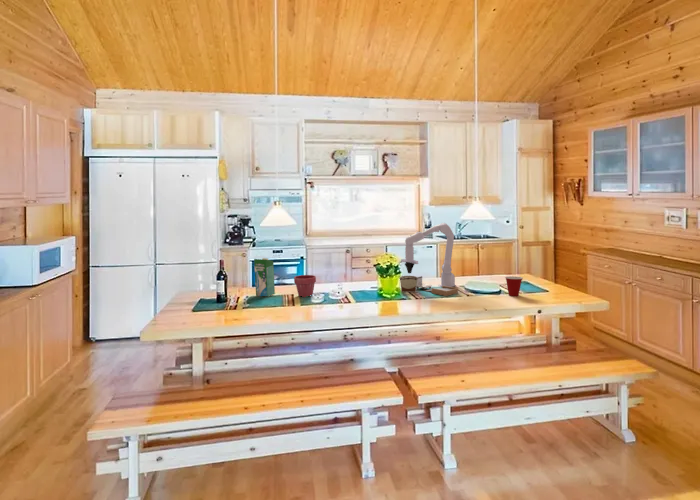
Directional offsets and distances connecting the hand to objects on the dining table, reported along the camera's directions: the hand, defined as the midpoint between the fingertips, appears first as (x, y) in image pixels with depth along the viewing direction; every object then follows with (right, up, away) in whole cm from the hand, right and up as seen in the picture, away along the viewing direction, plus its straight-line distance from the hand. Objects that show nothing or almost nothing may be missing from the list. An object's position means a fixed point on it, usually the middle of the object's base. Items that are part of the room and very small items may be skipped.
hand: (409, 273), depth 338 cm
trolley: (+9, -10, -9) cm, 16 cm away
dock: (+17, -12, -19) cm, 28 cm away
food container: (-3, -12, -14) cm, 18 cm away
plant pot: (-71, -14, -21) cm, 75 cm away
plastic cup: (+62, -13, -33) cm, 71 cm away
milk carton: (-98, -14, -16) cm, 101 cm away
